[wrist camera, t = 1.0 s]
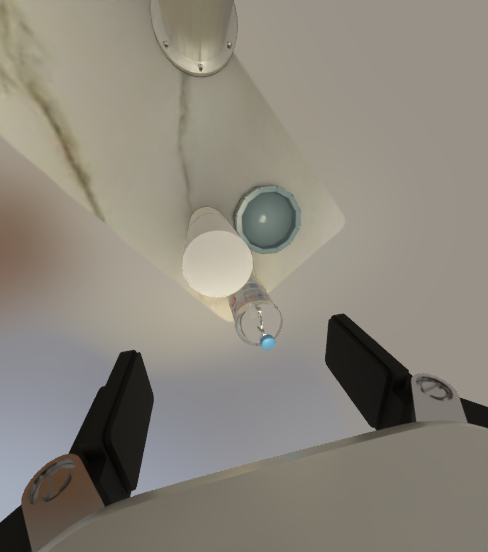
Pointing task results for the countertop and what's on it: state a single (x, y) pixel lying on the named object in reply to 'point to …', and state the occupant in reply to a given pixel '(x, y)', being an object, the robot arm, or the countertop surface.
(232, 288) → the cylindrical container
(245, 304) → the water bottle
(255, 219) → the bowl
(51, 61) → the countertop surface
